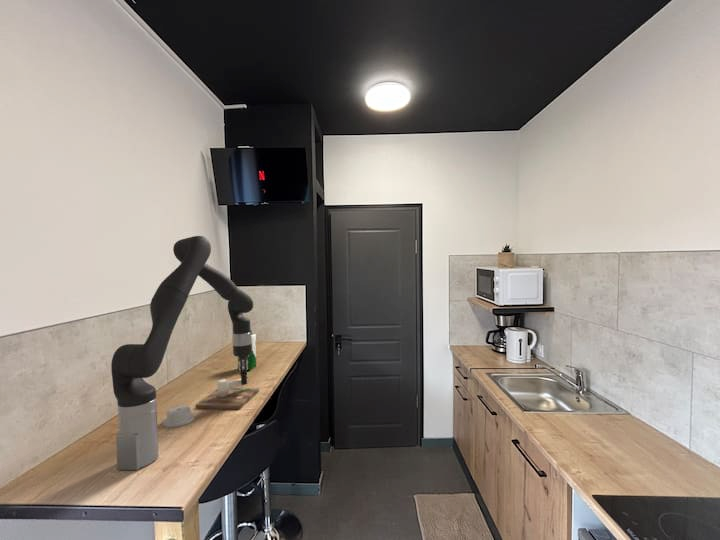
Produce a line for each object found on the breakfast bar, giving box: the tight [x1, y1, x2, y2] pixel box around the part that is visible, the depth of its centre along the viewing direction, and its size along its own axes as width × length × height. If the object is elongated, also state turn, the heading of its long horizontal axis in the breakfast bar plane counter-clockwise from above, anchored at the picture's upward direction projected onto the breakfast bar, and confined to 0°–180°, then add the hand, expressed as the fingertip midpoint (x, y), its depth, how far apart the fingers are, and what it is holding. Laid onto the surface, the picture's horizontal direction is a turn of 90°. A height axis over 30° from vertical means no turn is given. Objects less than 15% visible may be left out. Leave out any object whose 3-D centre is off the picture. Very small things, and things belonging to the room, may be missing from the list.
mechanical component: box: [162, 405, 196, 428], centre depth 122 cm, size 10×4×10 cm
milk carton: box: [237, 330, 257, 371], centre depth 182 cm, size 9×9×20 cm
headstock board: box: [195, 387, 260, 410], centre depth 141 cm, size 18×18×2 cm
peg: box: [216, 376, 249, 397], centre depth 144 cm, size 4×13×6 cm, turn 131°
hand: (244, 384), depth 144 cm, fingers closed
